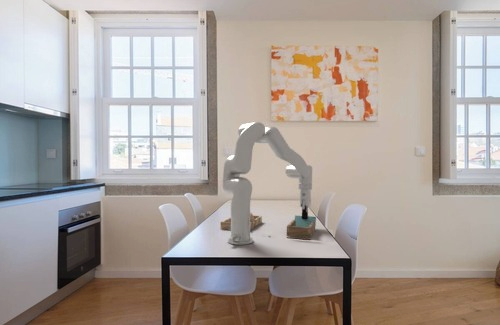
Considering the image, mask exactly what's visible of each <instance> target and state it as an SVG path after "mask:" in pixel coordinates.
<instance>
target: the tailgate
mask: <svg viewBox="0 0 500 325" xmlns="http://www.w3.org/2000/svg"><path fill="white" fill-rule="evenodd" d="M294 220H296V226H298V227H309V226H310V224H311V223H312V221H315V227H316V224H317V216H310V215H308V219H302V215H294Z"/></svg>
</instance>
